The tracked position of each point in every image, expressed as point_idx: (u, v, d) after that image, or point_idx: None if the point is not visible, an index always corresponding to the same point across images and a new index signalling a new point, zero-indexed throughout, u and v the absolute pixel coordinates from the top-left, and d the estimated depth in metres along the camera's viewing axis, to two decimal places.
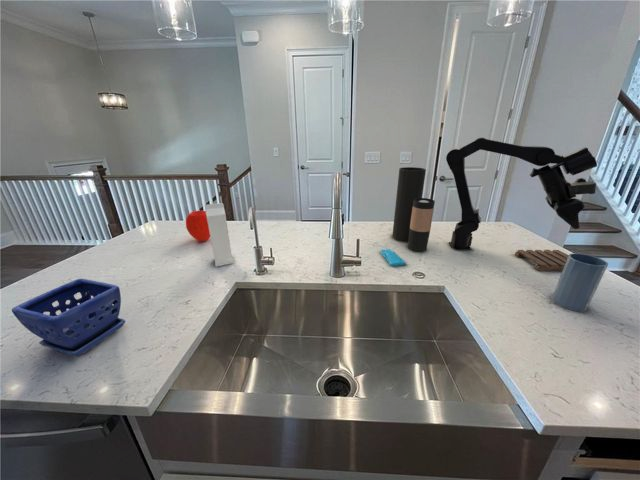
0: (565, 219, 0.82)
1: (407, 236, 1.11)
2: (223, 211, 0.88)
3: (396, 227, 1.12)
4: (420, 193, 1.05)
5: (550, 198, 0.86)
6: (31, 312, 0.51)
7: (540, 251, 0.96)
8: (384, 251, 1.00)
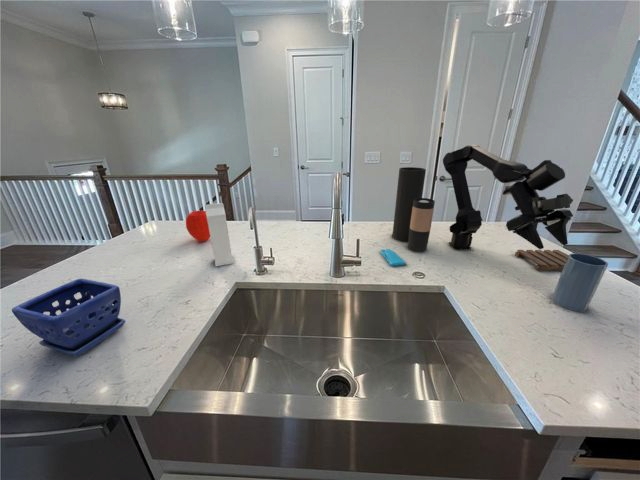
0: (524, 237, 0.75)
1: (407, 236, 1.11)
2: (223, 211, 0.88)
3: (396, 227, 1.12)
4: (420, 193, 1.05)
5: None
6: (31, 312, 0.51)
7: (540, 251, 0.96)
8: (384, 251, 1.00)
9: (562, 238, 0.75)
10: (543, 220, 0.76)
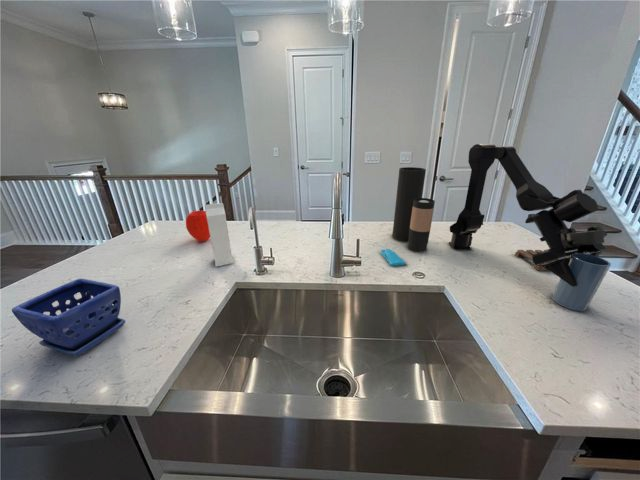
0: (554, 272, 0.69)
1: (407, 236, 1.11)
2: (223, 211, 0.88)
3: (396, 227, 1.12)
4: (420, 193, 1.05)
5: None
6: (31, 312, 0.51)
7: (540, 251, 0.96)
8: (384, 251, 1.00)
9: None
10: None
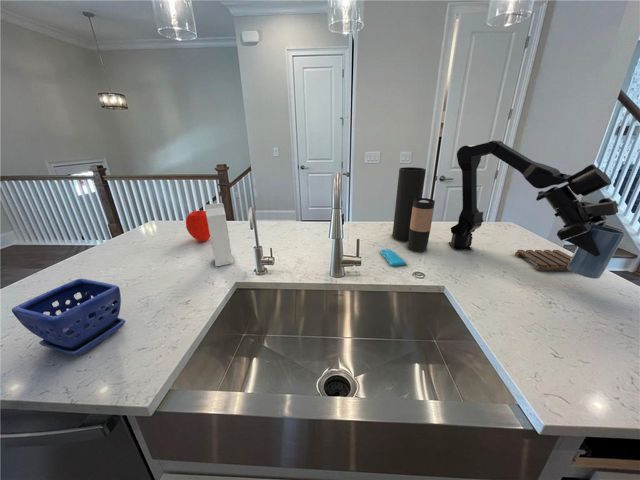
0: (577, 244, 0.72)
1: (407, 236, 1.11)
2: (223, 211, 0.88)
3: (396, 227, 1.12)
4: (420, 193, 1.05)
5: None
6: (31, 312, 0.51)
7: (540, 251, 0.96)
8: (384, 251, 1.00)
9: None
10: None
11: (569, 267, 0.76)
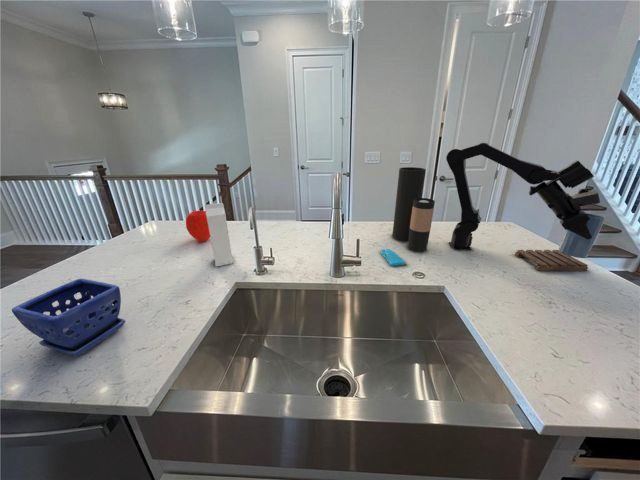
0: (574, 231, 0.81)
1: (407, 236, 1.11)
2: (223, 211, 0.88)
3: (396, 227, 1.12)
4: (420, 193, 1.05)
5: (555, 212, 0.85)
6: (31, 312, 0.51)
7: (540, 251, 0.96)
8: (384, 251, 1.00)
9: None
10: None
11: (563, 251, 0.86)
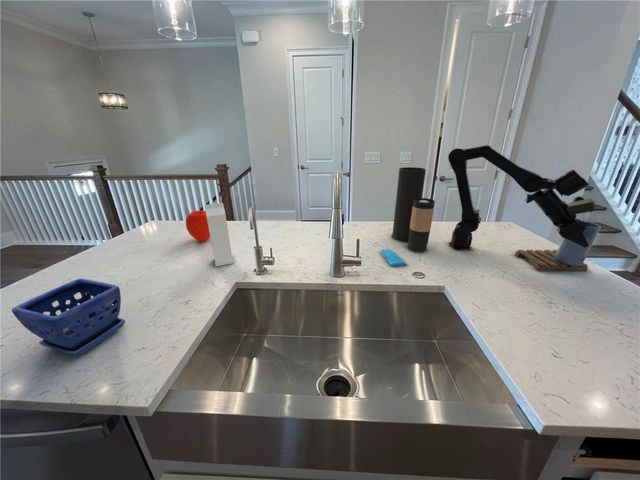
0: (571, 239, 0.82)
1: (407, 236, 1.11)
2: (223, 211, 0.88)
3: (396, 227, 1.12)
4: (420, 193, 1.05)
5: (552, 220, 0.87)
6: (31, 312, 0.51)
7: (540, 251, 0.96)
8: (384, 251, 1.00)
9: None
10: None
11: (560, 259, 0.88)
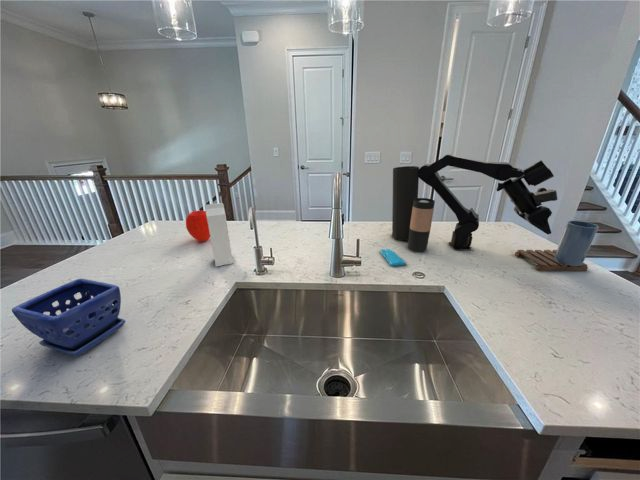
0: (537, 226, 0.86)
1: (407, 234, 1.10)
2: (223, 211, 0.88)
3: (395, 226, 1.12)
4: (415, 191, 1.05)
5: (519, 208, 0.91)
6: (31, 312, 0.51)
7: (540, 251, 0.96)
8: (384, 251, 1.00)
9: None
10: None
11: (559, 260, 0.88)
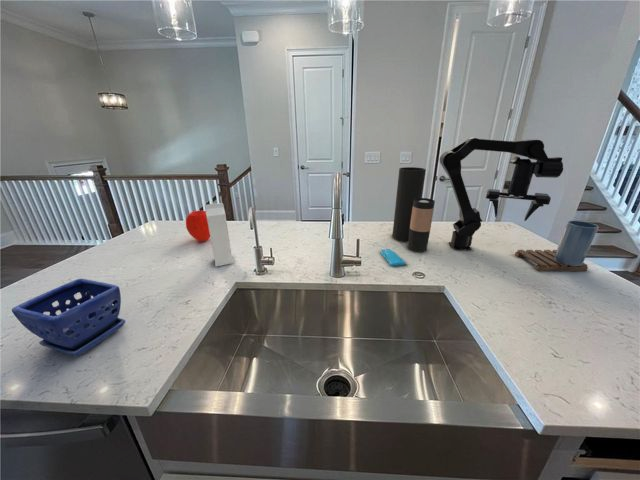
0: None
1: (407, 236, 1.11)
2: (223, 211, 0.88)
3: (396, 227, 1.12)
4: (420, 193, 1.05)
5: (523, 190, 0.91)
6: (31, 312, 0.51)
7: (540, 251, 0.96)
8: (384, 251, 1.00)
9: None
10: None
11: (559, 260, 0.88)
